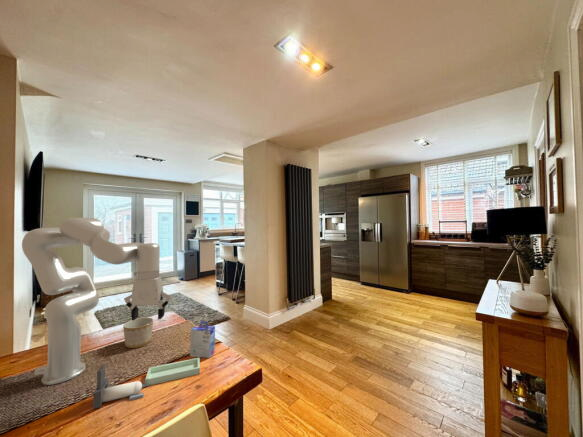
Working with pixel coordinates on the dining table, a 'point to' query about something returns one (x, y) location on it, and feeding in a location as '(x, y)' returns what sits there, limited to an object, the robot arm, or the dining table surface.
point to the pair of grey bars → (138, 394)
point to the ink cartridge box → (202, 341)
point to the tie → (99, 387)
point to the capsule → (121, 391)
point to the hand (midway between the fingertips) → (148, 318)
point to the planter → (138, 332)
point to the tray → (172, 371)
